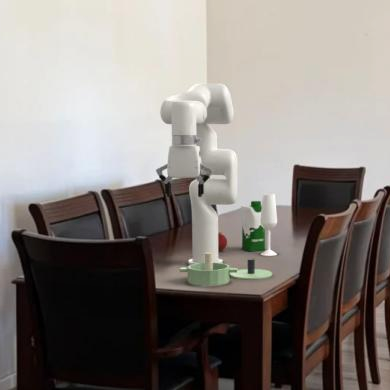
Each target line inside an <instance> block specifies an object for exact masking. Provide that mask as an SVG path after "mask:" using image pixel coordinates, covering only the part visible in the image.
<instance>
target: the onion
mask: <svg viewBox="0 0 390 390" xmlns="http://www.w3.org/2000/svg"><path fill="white" fill-rule="evenodd" d="M227 245H228V239H227V237H226V235H224V234H223V233H222V231H218V252H222V251H223V250H224V249H225V248H226V247H227Z"/></svg>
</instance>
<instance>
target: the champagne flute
mask: <svg viewBox="0 0 390 390" xmlns="http://www.w3.org/2000/svg"><path fill="white" fill-rule="evenodd" d="M261 199H262V200H261V205H262V209H261V220H260V223H261V224H262V226H263V227H264V228H265V231H266V230H267V231H266V235H267V236H266V239H267V240H266V243H267V244H266V247H267V248H266V249H265V250H263V252H261V253H260V256H266V257H271V256H272V257H273V256H277V255H278V253H276V252H275V251H273V250H272V249H271V230H272V229H274V228H275V227H276V226H277V224H278V214H277V212H278V211H277V203H276V202H277V201H276V193H273V192H271V193H270V192H268V193H267V192H266V193H262V198H261Z"/></svg>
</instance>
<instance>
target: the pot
mask: <svg viewBox="0 0 390 390" xmlns="http://www.w3.org/2000/svg"><path fill="white" fill-rule="evenodd" d="M238 270H239V268H238V267H230V265H229V264H227V263H223V262H222V263H213V270H205V263H197V264H192V265H189V264H188V266H187V267H180V268H179V273H187V283H188V284H190V285H193V286H202V287H211V286H212V287H213V286H214V287H215V286H221V285H225V284H229V282H230V280H231V279H230V277H231V276H230V273H231V272H237V271H238Z"/></svg>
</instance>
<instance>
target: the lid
mask: <svg viewBox="0 0 390 390" xmlns="http://www.w3.org/2000/svg"><path fill="white" fill-rule="evenodd" d="M255 261H256V259H255V258H253V257H250V258H247V268H245V269H244V268H243V269H238V271H237V272H230V277H231V278H233V279H237V280H247V281H248V280H249V281H250V280H251V281H253V280H263V279H268V278H270V277H272V276H273V272H272V271H270V270H268V269H259V268H258V269H257V268H255V266H256V264H255V263H256V262H255Z"/></svg>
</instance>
